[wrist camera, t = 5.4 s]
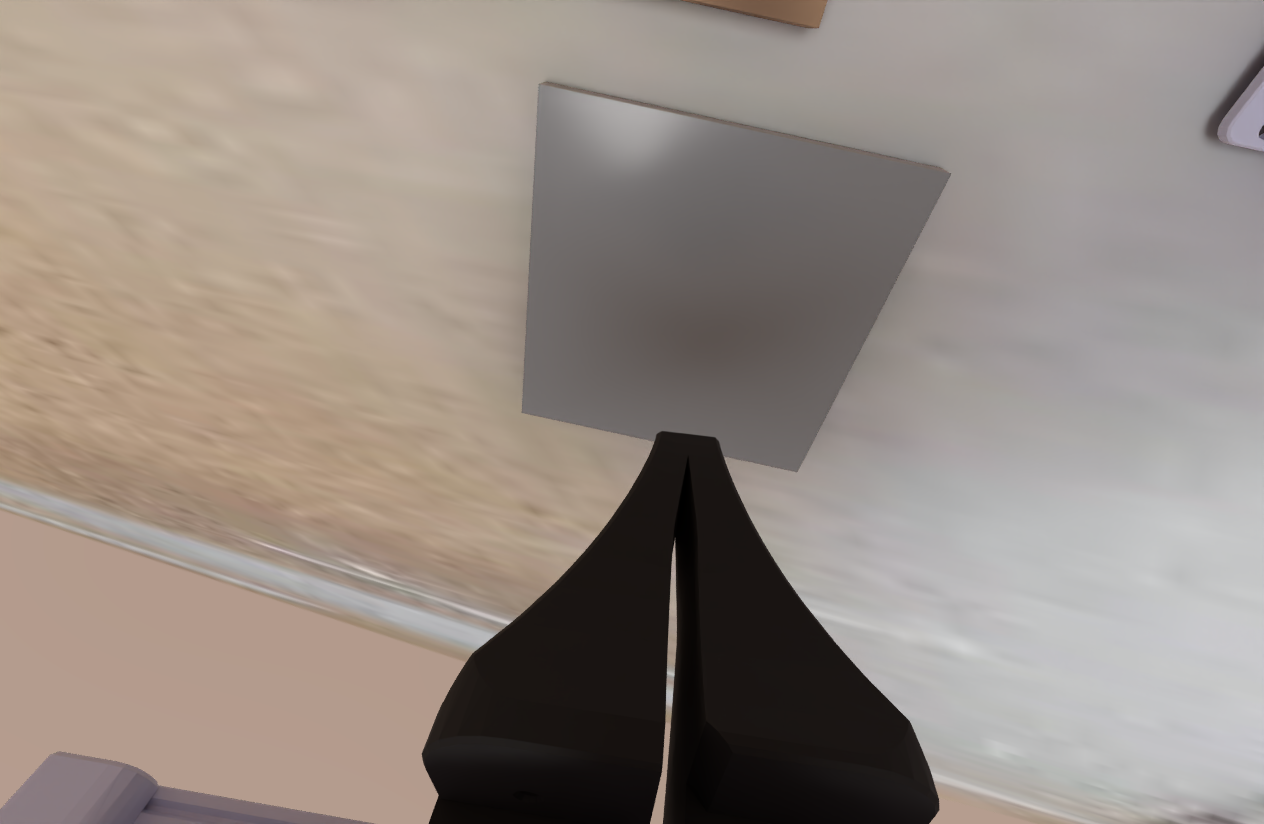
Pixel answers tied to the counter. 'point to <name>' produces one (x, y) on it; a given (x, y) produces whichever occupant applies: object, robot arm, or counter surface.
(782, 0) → the pocket frame
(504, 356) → the counter surface
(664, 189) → the slate coaster
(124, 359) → the counter surface
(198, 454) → the counter surface
